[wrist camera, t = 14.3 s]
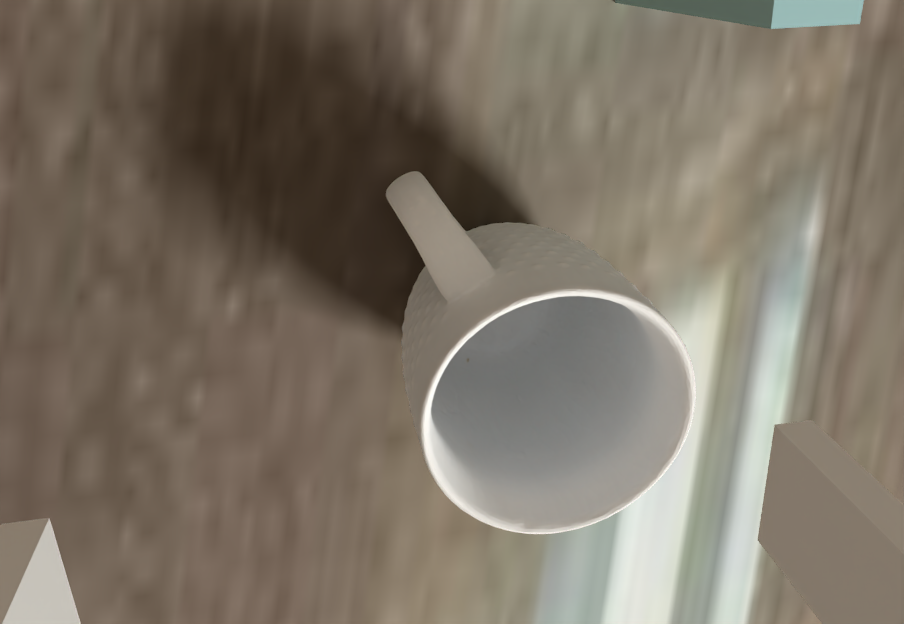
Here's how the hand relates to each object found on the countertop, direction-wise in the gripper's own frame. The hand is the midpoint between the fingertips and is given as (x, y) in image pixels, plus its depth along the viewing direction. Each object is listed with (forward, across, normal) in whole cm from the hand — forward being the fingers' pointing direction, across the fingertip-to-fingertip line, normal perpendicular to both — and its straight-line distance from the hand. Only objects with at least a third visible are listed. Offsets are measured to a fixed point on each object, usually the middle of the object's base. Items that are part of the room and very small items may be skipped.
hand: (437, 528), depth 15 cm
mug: (+27, +6, -6) cm, 28 cm away
